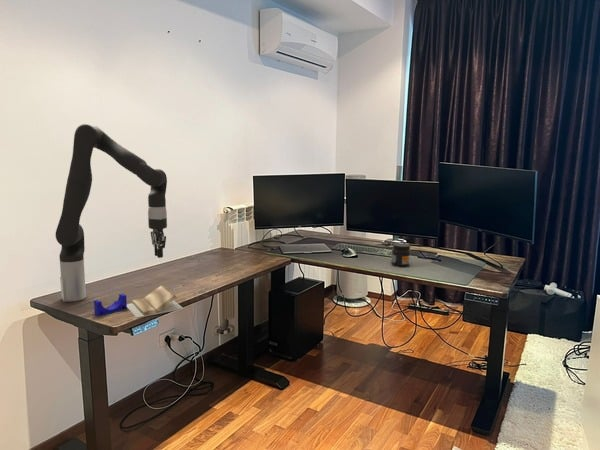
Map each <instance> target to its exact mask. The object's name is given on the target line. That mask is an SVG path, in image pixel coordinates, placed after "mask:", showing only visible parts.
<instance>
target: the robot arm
mask: <svg viewBox="0 0 600 450" xmlns="http://www.w3.org/2000/svg"><path fill="white" fill-rule="evenodd" d="M73 135H74V136H73V147H72V156H71V162H70V165H69V166H70V167H69V170H68V172H69V173H68V175H67V179H66V185H65V190H64V191H65V192H64V197H63V204H62V210H61V214H60V218H59V221H58V224H57V227H56V229H55V239H56V241H57V243H58V244H59V245H61V249H60V253H59V255H58V256H59V266H60V267H59V268H60V270H59V271H60V278H59V279H60V281H59V282H60V291H61V292H60V293H61V300H62V301H63V302H65V303H66V302H69V303H70V302H78V301H81V300H84V299H86V298H87V292H86V291H87V290H86V274H85V272H86V271H85V260H84V259H85V257H84V256H85V254H84V253H85V250H86V249H85V232H84V228H83V227H82V225H81V224H80V220H81V216H82V213H83V210H84V208H85V206H86V205H87V202H88V200H89V196H90V195H91V190H92V189H91V188H92V182H93V173H92V166H91V164H92V163H91V161H92V154H93V152H94V148H95V149H97V150H98V151H101V152H103V153H105V154H107V155H108V156H109V157H111V158H112V159H113V160H114V161H115V162H117V164H119V165H120V166H121V167H123V168H124V169H125V170H127V171H129V172H130V173H132V174H134V175H135V176H136V177H137V178H139V179H140V180H141V181H142V182H143V183H145V184H146V185H148V186H149V187H150V192H149V193H148V196H147V202H148V203H147V204H148V210H147V216H148V217H147V220H148V222H147V224H148V228H149V229H151V230H152V231H150V238H151V245H152V246H153V248H154V256H156V257H157V258H159V259H162V258H163V257H164V249H165V248H166V244H167V243H166V242H167V236H166V235H165V232H164V229H167V228H168V220H167V213H168V212H167V206H166V205H167V204H166V203H167V200H166V193H167V188H168V187H167V185H168V180H167V179H168V177H167V174H166V172H165V171H164V170H162V169H159V168H153V167H151V166H150V165H149V164H147V162H146V161H145V160H144V159H143V158H142V157H140V156H138V155H137V154H135V153H134V152H131V150H129V149H127V148H125V147H124V146H122V145H121V144H120V143H118V142H117V141H115V139H112V138H111V137H110V135H108V134H107V133H106V132H105V131H104V130H102V129H101V128H100V127H99V126H98V125H95V124H89V123H83V124H80V125H78V126H77V128H75V131H74V134H73Z"/></svg>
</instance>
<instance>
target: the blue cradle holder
mask: <svg viewBox="0 0 600 450" xmlns="http://www.w3.org/2000/svg"><path fill="white" fill-rule="evenodd" d="M127 304H128V302H127V294H125V293H119V294H118V299H117V300H115V301H113V303H112V304H110V305H108V306H107V307H104V306H103V304H102V300H99V299H94V300H93V310H94V315H95V316H97V317H102V316H106V315H109V314H112V313H116V312H120V311H125V310H128V308H127Z"/></svg>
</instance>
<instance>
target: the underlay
mask: <svg viewBox="0 0 600 450" xmlns="http://www.w3.org/2000/svg"><path fill="white" fill-rule="evenodd" d="M127 310H129V312H131V314H132V315H133V316H134V317H135V318H136V319H138V318H139V319H140V318H145V317H150V316H155V315H159V314H164V313H169V312H175V311H180V310H184V307H183V306H181V305H180V304H179V303H177V302H176V301H175V299H174V300H173V301H172V302H170V303H169V304H168V305H166V306H165V307H164V308H163V309H161V310H160V311H159V312H158V311H157V310H156V312H157V313H154V314H149V315H143V314H142V313H141V312H140V311H139V310H138V309H137V308H136V307H135V306H134V305H133V303H132V302H131V303H127Z"/></svg>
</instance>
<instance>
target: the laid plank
mask: <svg viewBox="0 0 600 450" xmlns="http://www.w3.org/2000/svg"><path fill="white" fill-rule="evenodd" d="M131 301H132V302H131V303H133V305H134V306H135V307H136V308H137V309H138V310H139V311H140V312H141V313H142V314H143V315H149V314H154V313H157V312H156V308H155V307H153V306H152V305H151V304H150V303H149V302H148V301H147V300H146V299H145V297H142V298H137V299H132V300H131Z"/></svg>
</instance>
